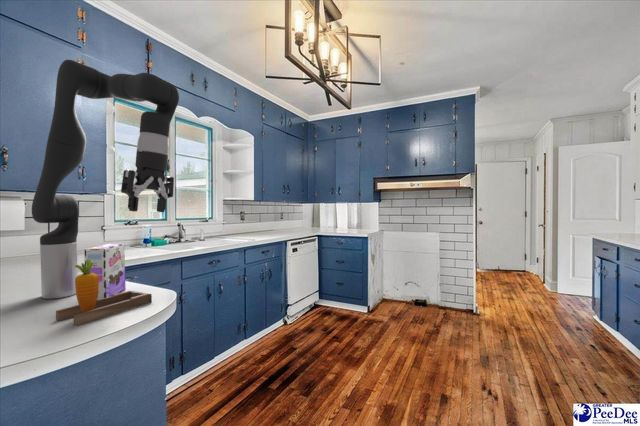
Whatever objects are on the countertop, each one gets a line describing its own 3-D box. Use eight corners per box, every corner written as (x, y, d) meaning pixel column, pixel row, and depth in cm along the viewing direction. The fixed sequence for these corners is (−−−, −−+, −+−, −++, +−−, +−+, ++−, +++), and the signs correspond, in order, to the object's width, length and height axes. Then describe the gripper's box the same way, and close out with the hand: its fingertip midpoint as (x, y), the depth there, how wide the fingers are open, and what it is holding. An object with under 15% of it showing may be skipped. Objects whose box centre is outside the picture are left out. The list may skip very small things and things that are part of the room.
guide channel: (56, 320, 79) (55, 309, 79) (132, 298, 97) (132, 289, 97) (76, 325, 75) (75, 314, 75) (151, 302, 93) (151, 293, 93)
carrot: (87, 320, 78) (85, 261, 78) (71, 319, 79) (69, 261, 79) (104, 313, 83) (102, 258, 83) (89, 312, 84) (87, 258, 84)
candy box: (105, 301, 95) (104, 248, 94) (84, 302, 94) (83, 248, 93) (126, 289, 108) (125, 242, 108) (108, 290, 107) (106, 243, 107)
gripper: (163, 156, 91) (158, 211, 92) (117, 145, 78) (112, 209, 78) (183, 157, 89) (178, 213, 89) (139, 146, 75) (133, 212, 76)
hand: (147, 211), depth 84 cm, fingers open, 8 cm apart
